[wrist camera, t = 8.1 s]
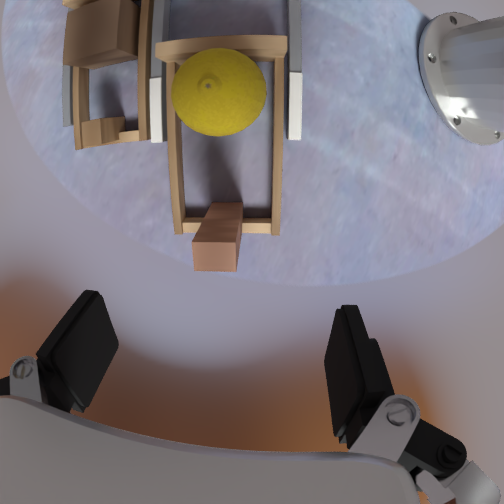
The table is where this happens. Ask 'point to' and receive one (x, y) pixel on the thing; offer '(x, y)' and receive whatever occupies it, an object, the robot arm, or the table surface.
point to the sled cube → (114, 127)
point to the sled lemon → (220, 213)
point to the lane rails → (159, 67)
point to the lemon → (218, 92)
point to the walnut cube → (102, 34)
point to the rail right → (67, 93)
